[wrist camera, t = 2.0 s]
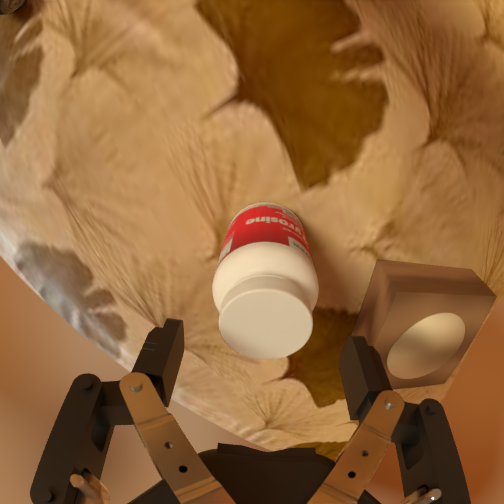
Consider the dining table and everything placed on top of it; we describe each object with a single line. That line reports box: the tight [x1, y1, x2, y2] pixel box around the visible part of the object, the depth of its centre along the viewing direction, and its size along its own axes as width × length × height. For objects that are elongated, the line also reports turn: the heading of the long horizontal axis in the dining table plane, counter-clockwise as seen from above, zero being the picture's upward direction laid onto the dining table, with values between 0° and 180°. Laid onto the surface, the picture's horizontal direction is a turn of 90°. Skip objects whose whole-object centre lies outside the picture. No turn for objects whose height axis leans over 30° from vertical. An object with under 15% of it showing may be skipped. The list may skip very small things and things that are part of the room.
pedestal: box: [351, 259, 497, 389], centre depth 25 cm, size 12×12×5 cm
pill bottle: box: [212, 202, 319, 360], centre depth 19 cm, size 6×6×11 cm
